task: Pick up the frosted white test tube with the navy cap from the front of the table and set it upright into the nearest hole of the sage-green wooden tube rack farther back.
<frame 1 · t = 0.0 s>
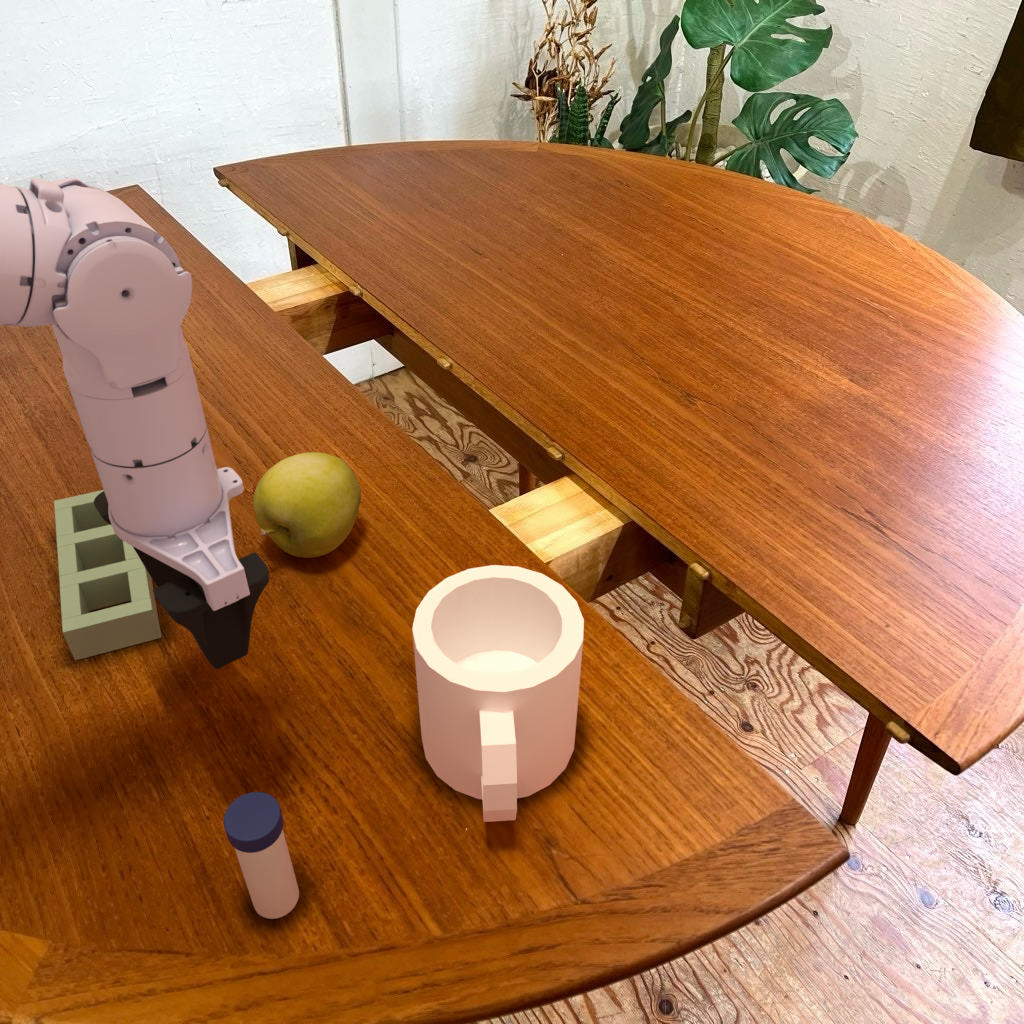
hand: (202, 619, 57), 10 cm above the table, tool pointing down, fingers open, 7 cm apart
mug: (496, 750, 63), on the table
apple: (313, 545, 78), on the table
test tube: (276, 897, 55), on the table
tube rack: (110, 579, 75), on the table
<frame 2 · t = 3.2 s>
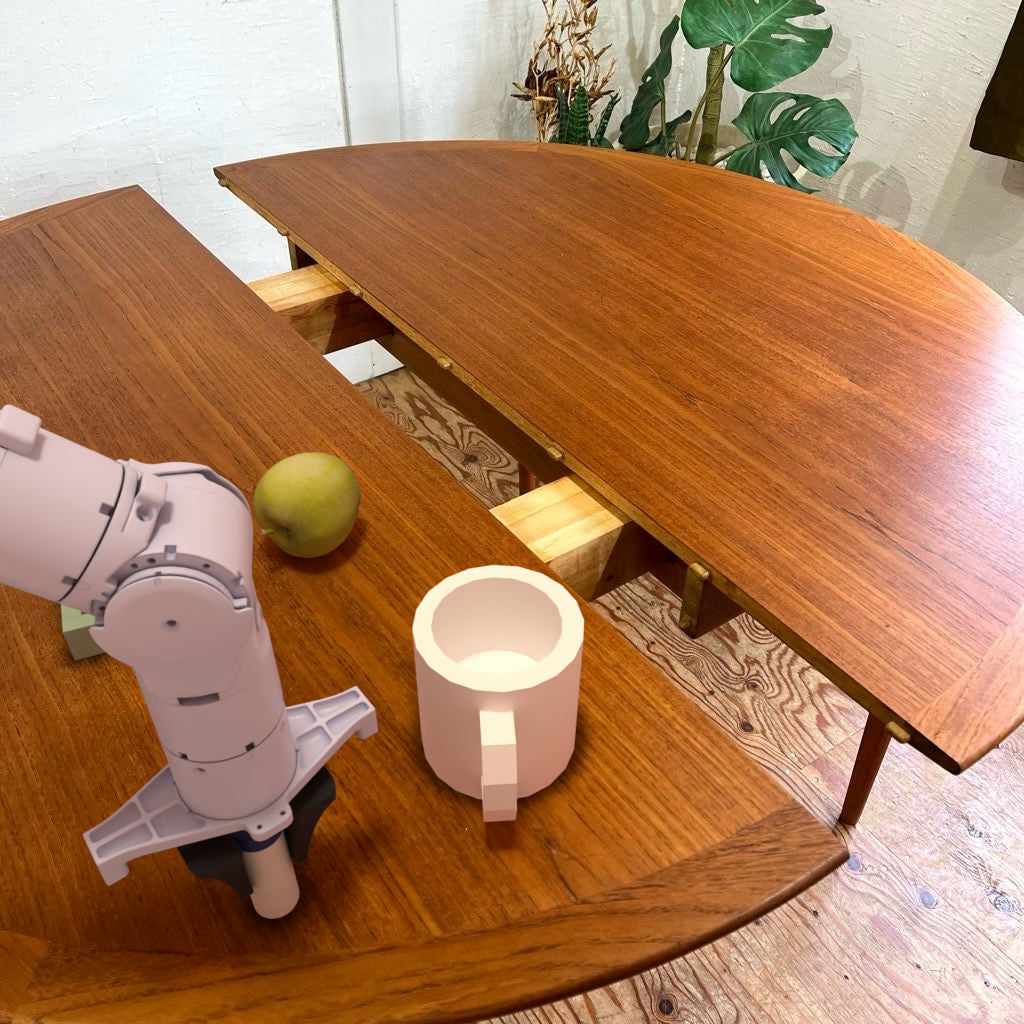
hand: (266, 866, 53), 3 cm above the table, tool pointing down, fingers closed on test tube, 3 cm apart
test tube: (276, 897, 55), on the table, touching gripper
everything else where it was.
when the fingers open (3 cm above the table, at t = 8.8 s): test tube stays where it is, resting in tube rack.
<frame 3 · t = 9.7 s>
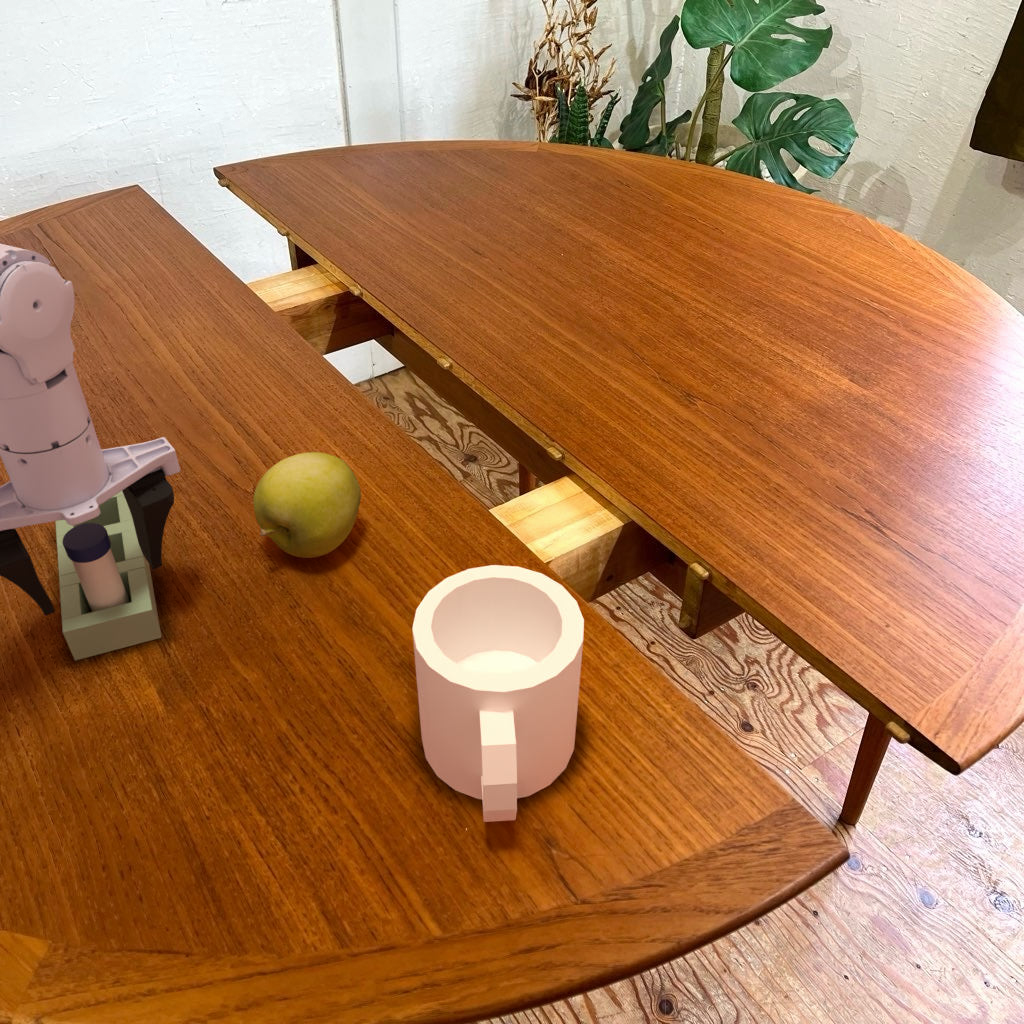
hand: (100, 582, 69), 4 cm above the table, tool pointing down, fingers open, 7 cm apart
test tube: (116, 620, 71), resting in tube rack
everything else where it was.
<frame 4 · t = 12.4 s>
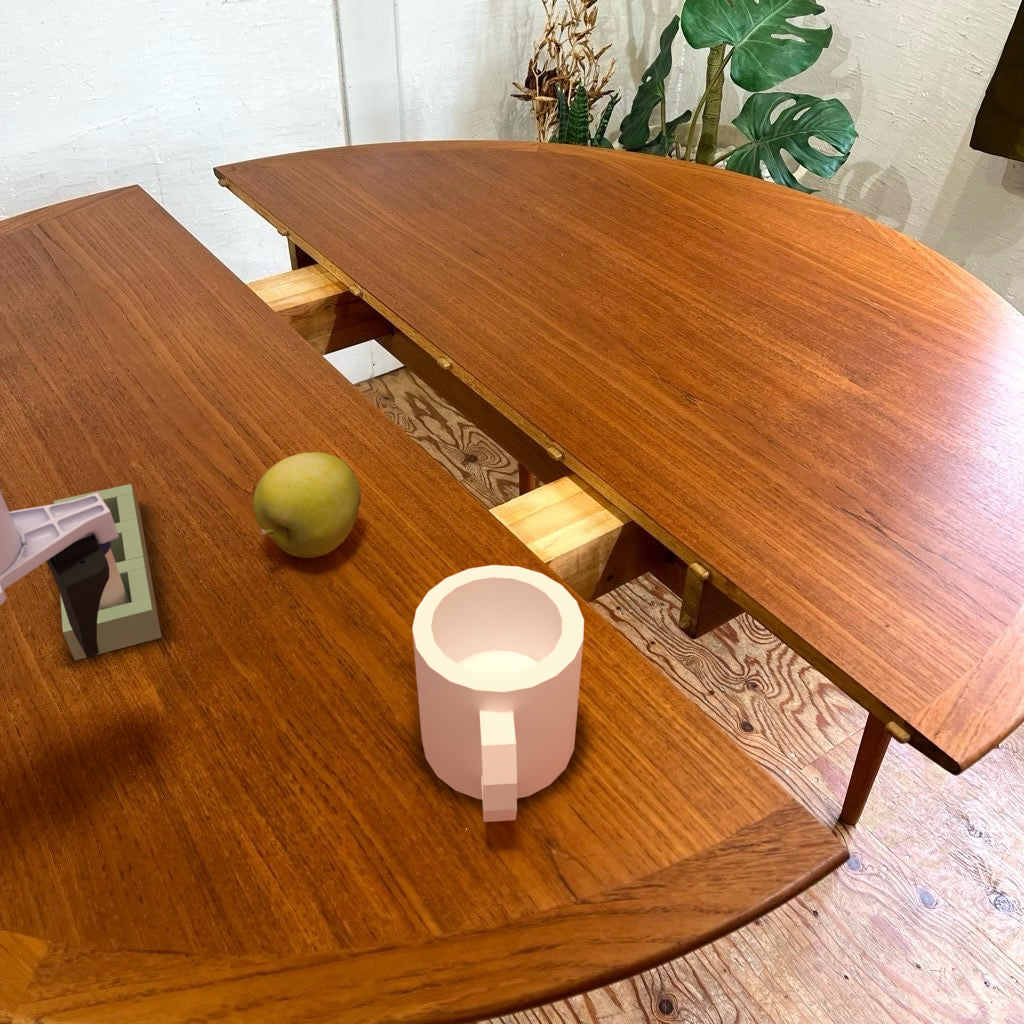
hand: (19, 676, 54), 10 cm above the table, tool pointing down, fingers open, 7 cm apart
nothing on the table moved.
at the end: test tube 0.1 cm from the target spot in the tube rack, point 0.0 cm above the tube rack's base; test tube tilted 0°; the gripper is holding nothing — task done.
